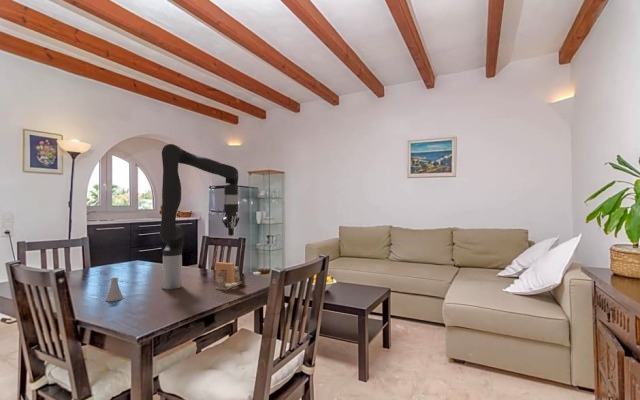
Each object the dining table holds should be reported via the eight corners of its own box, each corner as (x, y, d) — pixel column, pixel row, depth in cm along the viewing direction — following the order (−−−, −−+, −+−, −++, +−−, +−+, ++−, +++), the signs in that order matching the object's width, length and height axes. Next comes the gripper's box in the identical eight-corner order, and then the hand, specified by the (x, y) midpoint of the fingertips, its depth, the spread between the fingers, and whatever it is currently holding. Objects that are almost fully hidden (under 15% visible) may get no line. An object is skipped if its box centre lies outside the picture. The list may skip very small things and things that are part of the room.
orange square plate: (215, 281, 174) (215, 262, 174) (218, 280, 176) (218, 262, 176) (231, 283, 171) (231, 264, 170) (234, 282, 173) (234, 263, 173)
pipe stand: (225, 290, 169) (225, 271, 169) (215, 289, 171) (215, 271, 171) (241, 283, 183) (241, 266, 183) (232, 282, 185) (232, 265, 185)
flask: (104, 302, 149) (104, 280, 149) (106, 298, 155) (106, 277, 155) (122, 300, 152) (122, 278, 152) (124, 296, 159) (123, 275, 159)
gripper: (232, 203, 186) (232, 233, 186) (217, 203, 174) (217, 236, 174) (243, 203, 183) (243, 234, 184) (229, 203, 171) (229, 237, 171)
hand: (231, 235), depth 179 cm, fingers closed
